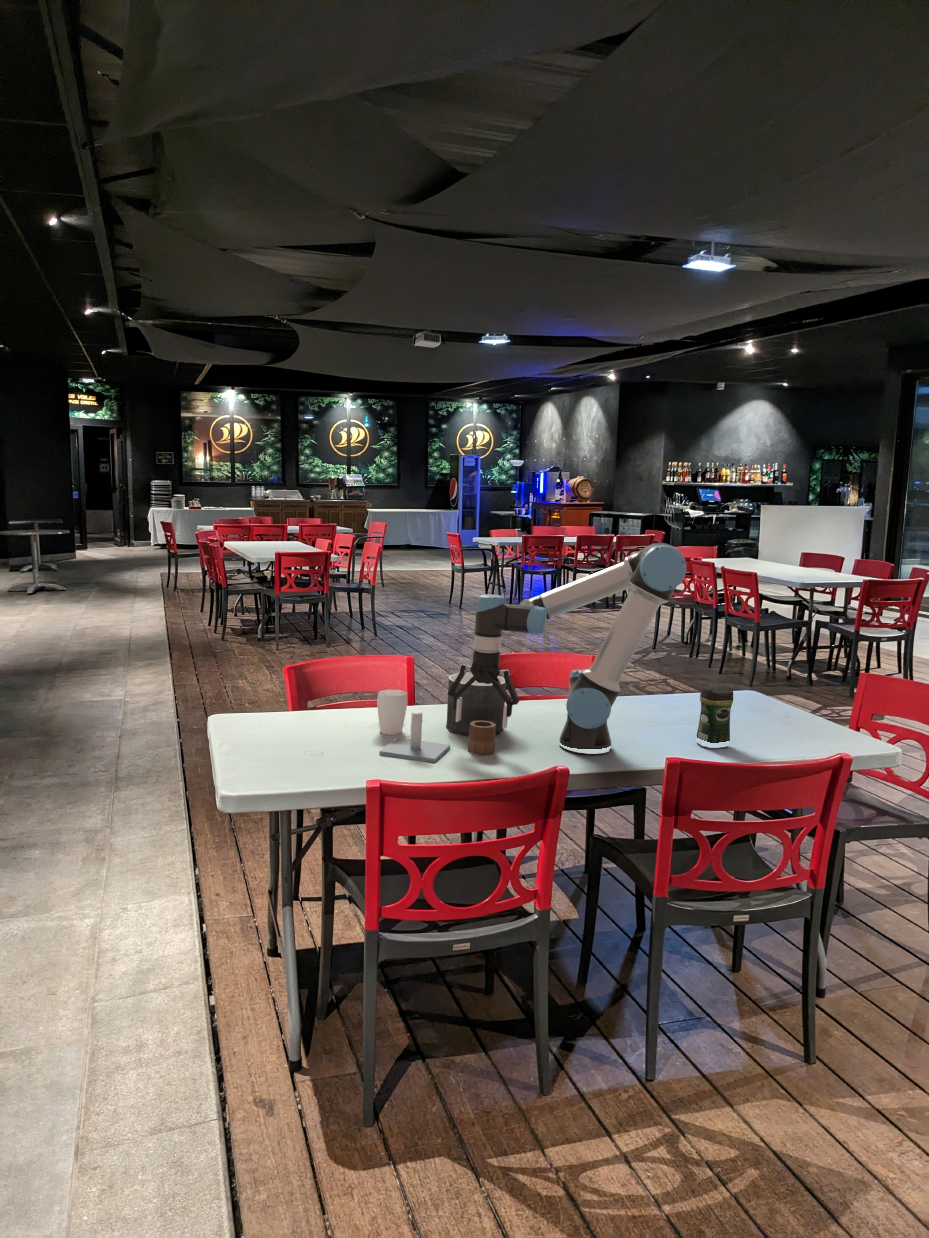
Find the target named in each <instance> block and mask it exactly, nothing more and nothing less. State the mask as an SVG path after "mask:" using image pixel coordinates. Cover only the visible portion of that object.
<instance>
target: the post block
mask: <svg viewBox="0 0 929 1238" xmlns="http://www.w3.org/2000/svg"><path fill="white" fill-rule="evenodd" d="M410 720H411V721H410V722H411V723H410V738H402V737H396V738H395V739H393V740H392V741H391V742H390V743H388V744H386V746H384V747H383V748H381V749H380V750H379V755H380V756H387V757H393V758H400V759H406V760H414V761H420V762H421V761H422V762H427V763H428V762H429V763H434V764H435V763H436V762H437V761H439V759H440V758H441V757H442V756H443V755H445V754H446V753H447V752H448V751H449V750H450V749H451V744H446V743H439V742H432V741H425V740H422V731H423V730H422V729H423V712H420V711H413V712H411V719H410Z"/></svg>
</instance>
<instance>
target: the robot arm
mask: <svg viewBox="0 0 929 1238" xmlns="http://www.w3.org/2000/svg"><path fill="white" fill-rule="evenodd" d="M686 572H687V562H686V559H685V556H684V554H683V553H682V552H681V551H680V550H679V549H678V548H677V547H675V546H673V545H671V544H670V543H666V542H655V543H651V544H649V545H648V546H645V547H644V548H642V549H639V550H638V551H636V552H634V553H633V554H630V555H628V556H626V557H624V559H623V561H622V562H619V563H617V564H614V565H612V566H609V567H607V568H604V569H602V570H599V571H597V572H594V573H592V574H588V575H585V576H584V577H581V578H578V579H576V580H574V581H570V582H569V583H566V584H564V585H561V586H558V587H556V588H553V589H551V590H548V591H545V592H543V593H541V594H538V595H536V596H535V595H534V596H533V597H530V598H525V599H523V600H521V601H519V603H518V604H513V603H512V604H509V603H507V602H506V603H505V597H504V596H503V595H499V594H498V595H497V594H489V593H488V594H486V593H484V594H481V595H479V596H478V597H477V603H476V610H475V621H474V623H475V625H474V638H473V648H474V650H473V651H472V663H471V665H468V663H463V664H462V665H461V666H460V670H459V672H458V673H459V675H458V676H457V678H456V680H455V681H454V683H453V685H452V686H451V688H450V690H449V691H448V690H447V696H448V695H451V696H452V697H453V698H454V703H453V708H454V709H456V722H459V721H460V720H461V710H462V697H459V696H460V695H461V694H462V693H463V692H464V691H465V690H466V689H467V688H468V687H469V686H470V685H471V684H472V683H474V682H475V681H477V682H478V683H485V684H490V683H492V685H493V686H494V687H495V688H496V689H497V691H498V692H499V694H500V695H501V697H502V698H503V700H504V701H505V705H504V712H503V725H502V728H503V730H504V729H506V728H507V727H508V719H509V718H510V717H511V716H512V715H513V706H515V705H518V704H519V703H520V698H519V696H518V693H517V690H516V688H515V685H514V684H513V680H512V678H511V670H510V668H507V669H501V668H500V659H501V652H500V651H501V647H502V637H503V636H502V632H503V631H505V632H514V633H524V634H530V635H543V634H544V633H546V629H547V628H546V627H547V621H548V620H550V619H553V618H555V617H557V616H560V615H562V614H565V613H567V612H571V611H573V610H575V609H579V608H580V607H584V606H586V605H589V604H592V603H594V602H597V601H599V600H602V599H604V598H608V597H610V596H613V595H614V594H617V593H621V592H623V591H626V590H628V589H630V591H629V592H628V595H627V597H626V599H625V600H624V603H623V605H622V606H621V609H620V610H619V611H618V614H617V616H616V618H615V620H614V622H613V623H612V625H611V628H610V629H609V631H608V633H607V635H606V637H605V639H604V641H603V642H602V645H601V646H600V648H599V650H598V652H597V654H596V656H595V658H594V660H593V662H592V663H591V665H590V667H588V668H584V669H573V670H571V671H570V674H569V675H570V676H569V678H568V680H569V685H568V696H567V699H566V700H567V701H566V712H567V714H566V715H567V716H566V721H565V723H564V726H563V728H562V731H561V734H560V735H559V741H560V743H561V744H562V745H564V746H567V747H570V748H577V749H602V748H607V747H609V746H611V747H612V739H611V735H610V731H609V726H608V720H609V718H610V715H611V713H612V707H613V705H614V703H615V702H616V700H617V697H618V696H619V694H620V693H621V687H620V680H621V678H622V677H623V675H624V673H625V670H626V669H627V667H628V666H629V664H630V661H631V660H632V658H633V656H634V654H635V652H636V651H637V649H638V647H639V645H640V643H641V641H642V639H643V637H644V635H645V634H646V632H647V630H648V628H649V626H650V625H651V623H652V621H653V618H654V617H655V616H656V613H657V611H658V609H659V607H660V606H661V605H663V604H666V603H668V602H669V601H670V599H671V597H672V596H673V594H674V592H675V590H676V588H677V587H678V586H679V585H680V584H681V583H683V580H684V579H685V576H686V574H687V573H686ZM469 671H470V673H472V675H473V677H472V678H471V679H470V680H469V681H468V682H467V683H466V684H465V685H464V686H463V687H462V688H461V689H460V690H459V691H458V692H455V690H456V688H457V687H458V685H459V683H460V682H461V680H462V678H463V677H464V675H465V673H469ZM498 676H501V677H503V678H504V680H505V683H506V689H508V692H507V690H506V691H505V689H504V688H503V686H502V685H501V683H500V681H499V679H498V678H497V677H498ZM508 693H509V694H508Z"/></svg>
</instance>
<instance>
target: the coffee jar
mask: <svg viewBox="0 0 929 1238" xmlns="http://www.w3.org/2000/svg"><path fill="white" fill-rule="evenodd" d="M699 701H700V714H699V722H698V727H697V732H696V736H697V738H699V739H701V740H704V741H707V742H710V743H719V742H726V741H730V740H731V711H732V705H733V703H734V690H733V688H731V687H729V686H726V685H711V686H709V685H708V686H702V687H701V689H700V695H699ZM730 742H731V741H730Z"/></svg>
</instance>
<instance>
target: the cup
mask: <svg viewBox="0 0 929 1238" xmlns="http://www.w3.org/2000/svg"><path fill="white" fill-rule="evenodd" d="M376 705H377V706H376V707H377V717H378V723H379V724H378V725H379V732H380V733H381V734H384V735H387V736H389V735H391V736H392V735H393V736H396V735H400V734H402V733H403V729H404V723H405V719H406V713H407V708H408V692H407V691H404V690H401V689H383V690H379V691H377V700H376Z"/></svg>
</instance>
